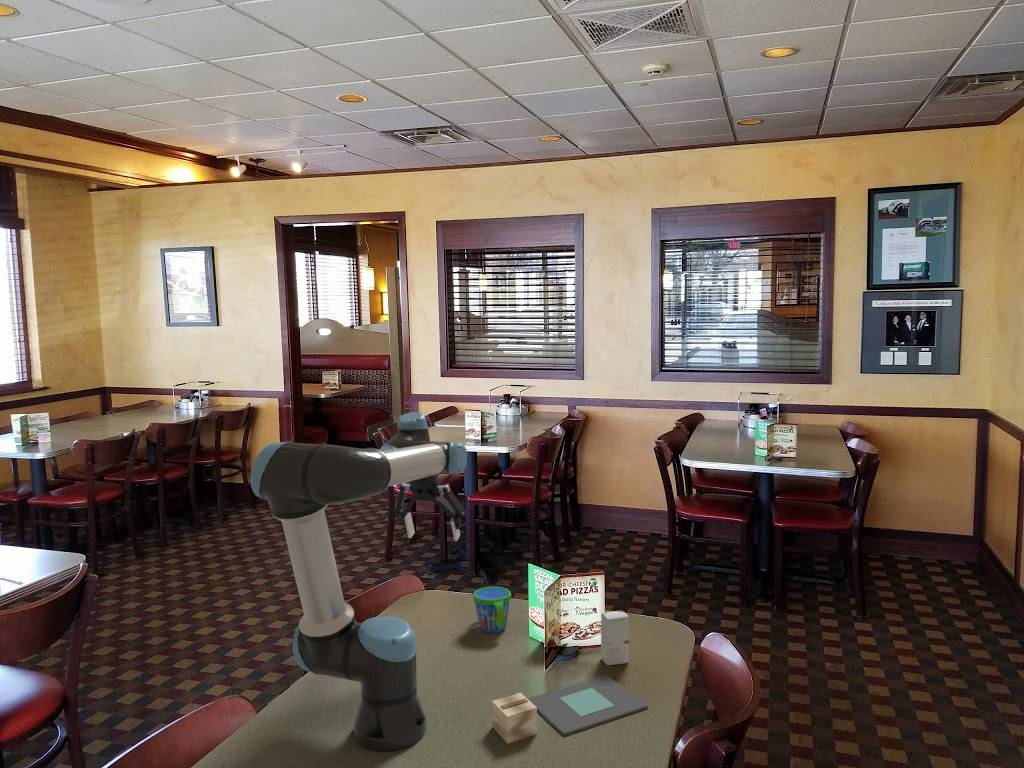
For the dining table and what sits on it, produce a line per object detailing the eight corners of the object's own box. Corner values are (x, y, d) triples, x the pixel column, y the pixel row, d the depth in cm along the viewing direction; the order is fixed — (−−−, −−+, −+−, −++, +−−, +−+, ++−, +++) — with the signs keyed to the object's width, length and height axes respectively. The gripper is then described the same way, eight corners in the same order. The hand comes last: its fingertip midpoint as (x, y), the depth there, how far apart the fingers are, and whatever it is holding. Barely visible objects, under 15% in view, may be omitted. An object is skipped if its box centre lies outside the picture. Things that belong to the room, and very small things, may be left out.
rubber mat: (564, 736, 156) (564, 732, 156) (526, 701, 170) (526, 698, 170) (647, 707, 167) (647, 705, 167) (606, 677, 181) (606, 674, 181)
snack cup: (469, 618, 216) (468, 584, 215) (505, 614, 219) (504, 581, 217) (479, 642, 201) (478, 605, 200) (517, 637, 203) (516, 601, 202)
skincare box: (607, 666, 186) (607, 619, 185) (600, 658, 191) (600, 612, 189) (629, 662, 188) (629, 616, 187) (622, 655, 192) (622, 609, 191)
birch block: (507, 744, 154) (507, 715, 153) (492, 727, 160) (492, 700, 160) (537, 734, 157) (536, 706, 157) (521, 718, 163) (520, 691, 163)
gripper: (469, 463, 197) (481, 531, 205) (384, 460, 204) (398, 526, 212) (460, 477, 190) (472, 547, 198) (372, 474, 198) (387, 542, 206)
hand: (434, 536), depth 205 cm, fingers open, 13 cm apart
